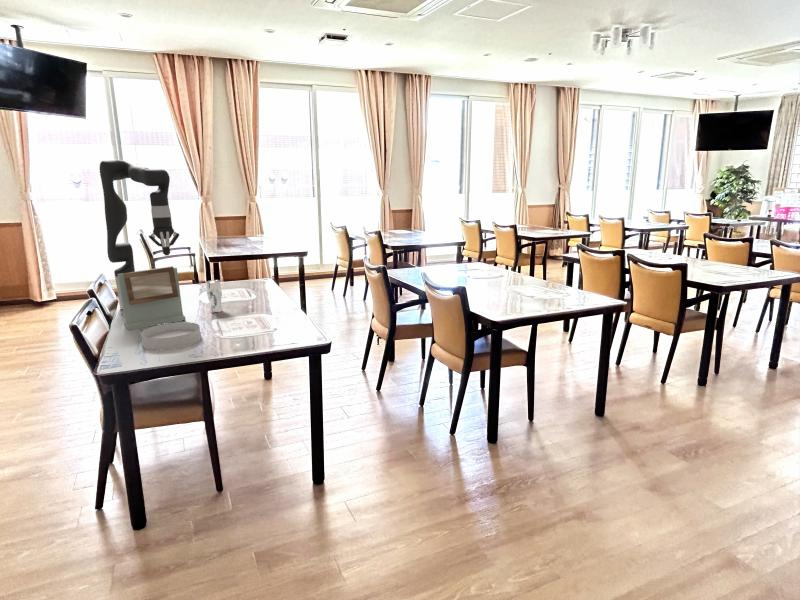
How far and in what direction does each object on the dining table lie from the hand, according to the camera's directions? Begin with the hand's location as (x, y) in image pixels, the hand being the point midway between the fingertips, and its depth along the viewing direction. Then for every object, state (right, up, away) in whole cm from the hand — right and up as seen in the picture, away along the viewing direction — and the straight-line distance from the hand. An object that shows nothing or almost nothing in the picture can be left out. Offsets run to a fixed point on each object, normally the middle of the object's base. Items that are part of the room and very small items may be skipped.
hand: (166, 255), depth 229 cm
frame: (-6, -20, +1) cm, 21 cm away
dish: (+12, -37, -21) cm, 44 cm away
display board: (-8, -30, +6) cm, 32 cm away
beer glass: (+14, -26, +23) cm, 37 cm away
